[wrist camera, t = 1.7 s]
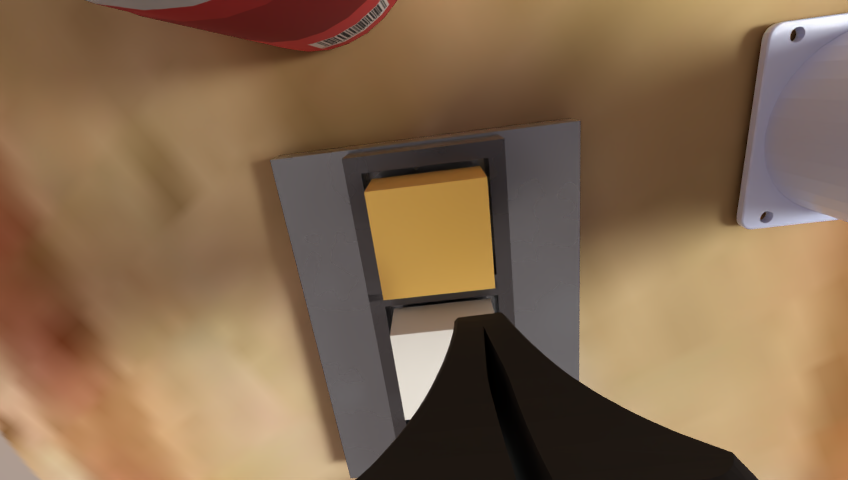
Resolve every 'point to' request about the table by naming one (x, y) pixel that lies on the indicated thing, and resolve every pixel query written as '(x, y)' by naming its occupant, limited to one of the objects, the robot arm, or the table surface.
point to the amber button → (431, 232)
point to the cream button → (425, 345)
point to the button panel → (372, 316)
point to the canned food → (269, 19)
